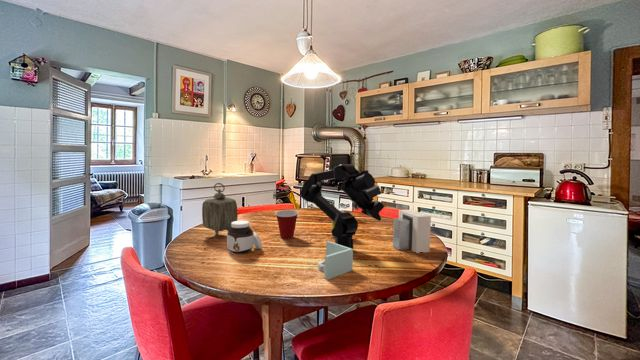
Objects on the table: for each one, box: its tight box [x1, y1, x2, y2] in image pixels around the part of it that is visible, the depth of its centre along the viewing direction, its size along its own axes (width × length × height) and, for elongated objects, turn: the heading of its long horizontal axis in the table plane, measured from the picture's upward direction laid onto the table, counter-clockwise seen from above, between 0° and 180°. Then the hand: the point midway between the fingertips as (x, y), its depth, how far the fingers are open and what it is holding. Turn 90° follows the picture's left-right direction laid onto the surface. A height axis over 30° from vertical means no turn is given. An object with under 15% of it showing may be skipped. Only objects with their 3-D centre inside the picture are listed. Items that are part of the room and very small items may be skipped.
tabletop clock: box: [201, 182, 239, 239], centre depth 137 cm, size 14×9×25 cm, turn 58°
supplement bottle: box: [331, 208, 345, 238], centre depth 140 cm, size 7×7×13 cm
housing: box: [398, 209, 432, 254], centre depth 125 cm, size 6×14×15 cm, turn 16°
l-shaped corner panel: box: [317, 240, 354, 281], centre depth 100 cm, size 12×12×8 cm
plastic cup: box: [274, 209, 300, 240], centre depth 137 cm, size 11×11×12 cm
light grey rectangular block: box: [392, 217, 411, 251], centre depth 124 cm, size 10×5×12 cm, turn 106°
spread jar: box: [226, 220, 263, 255], centre depth 119 cm, size 12×11×12 cm
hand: (380, 219), depth 120 cm, fingers closed
